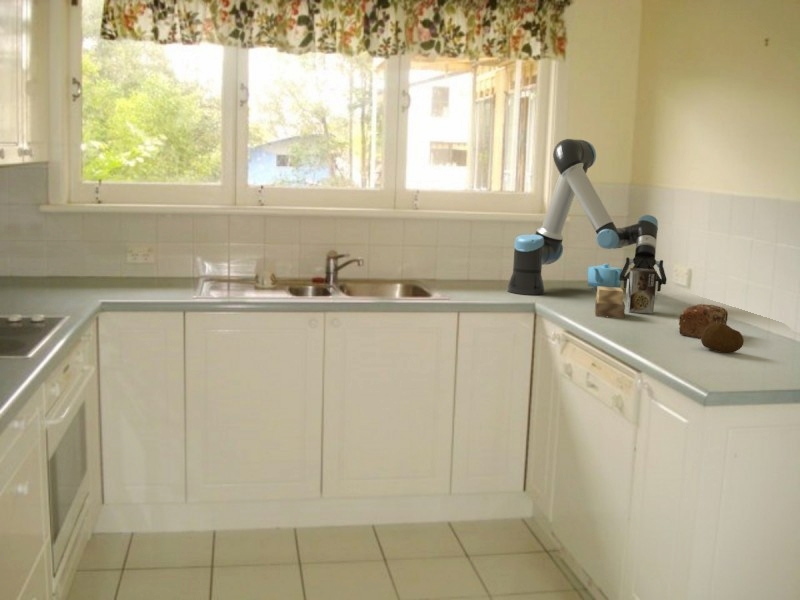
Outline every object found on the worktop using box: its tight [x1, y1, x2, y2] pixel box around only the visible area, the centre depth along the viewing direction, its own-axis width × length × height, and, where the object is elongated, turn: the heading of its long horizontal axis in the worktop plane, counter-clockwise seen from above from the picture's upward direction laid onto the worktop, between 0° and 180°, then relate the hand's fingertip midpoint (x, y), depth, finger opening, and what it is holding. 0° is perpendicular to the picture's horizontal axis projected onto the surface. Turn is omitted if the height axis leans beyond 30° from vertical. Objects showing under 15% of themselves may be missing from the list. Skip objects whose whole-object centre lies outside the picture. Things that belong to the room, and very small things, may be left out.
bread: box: [678, 303, 729, 339], centre depth 297 cm, size 19×11×10 cm, turn 142°
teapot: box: [587, 263, 623, 290], centre depth 385 cm, size 16×18×11 cm
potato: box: [701, 323, 745, 354], centre depth 270 cm, size 8×12×9 cm
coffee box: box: [626, 267, 658, 315], centre depth 333 cm, size 9×6×16 cm
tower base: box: [594, 299, 626, 319], centre depth 324 cm, size 10×10×5 cm
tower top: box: [595, 286, 624, 305], centre depth 323 cm, size 8×8×5 cm
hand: (641, 296), depth 330 cm, fingers closed on coffee box, 10 cm apart
